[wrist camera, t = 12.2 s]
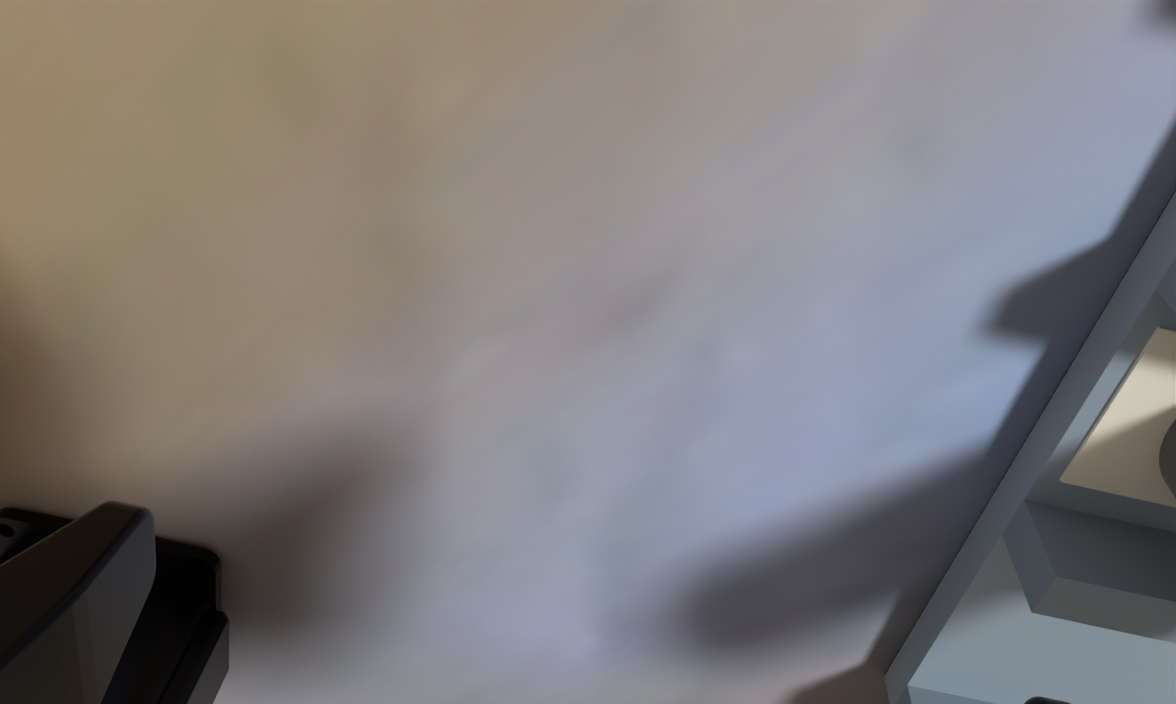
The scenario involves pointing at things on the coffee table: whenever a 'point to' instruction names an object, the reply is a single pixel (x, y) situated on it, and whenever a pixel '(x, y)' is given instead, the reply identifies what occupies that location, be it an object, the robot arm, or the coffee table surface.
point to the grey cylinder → (1169, 458)
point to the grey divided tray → (1072, 532)
